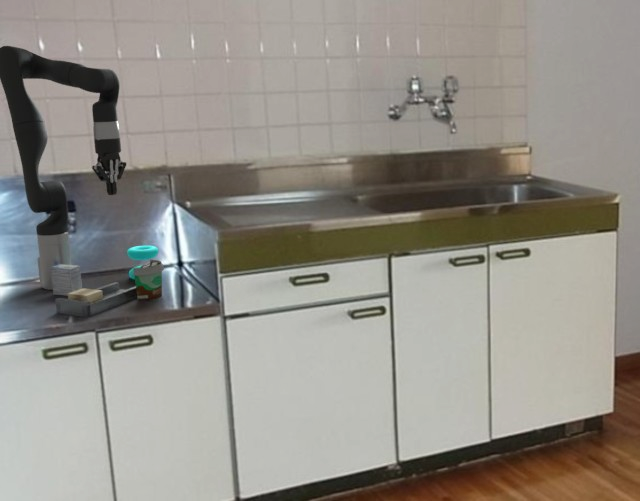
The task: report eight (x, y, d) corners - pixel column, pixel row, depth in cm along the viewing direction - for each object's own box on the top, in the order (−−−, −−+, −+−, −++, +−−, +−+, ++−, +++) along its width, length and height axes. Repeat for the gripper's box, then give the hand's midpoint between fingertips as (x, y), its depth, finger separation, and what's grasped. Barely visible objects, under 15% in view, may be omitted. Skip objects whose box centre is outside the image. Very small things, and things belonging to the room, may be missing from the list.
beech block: (69, 307, 205) (67, 293, 204) (84, 301, 211) (83, 288, 210) (88, 309, 202) (86, 295, 201) (103, 304, 208) (102, 290, 207)
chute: (56, 313, 204) (55, 299, 203) (115, 291, 225) (114, 279, 224) (87, 317, 199) (85, 302, 198) (144, 294, 220) (143, 281, 219)
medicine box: (83, 293, 225) (80, 265, 223) (72, 297, 221) (69, 268, 219) (63, 291, 228) (60, 263, 226) (52, 294, 224) (49, 267, 222)
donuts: (153, 243, 247) (161, 248, 238) (155, 272, 249) (164, 278, 240) (123, 247, 242) (131, 252, 234) (125, 276, 244) (133, 282, 236)
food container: (155, 303, 211) (153, 268, 209) (135, 302, 212) (132, 268, 210) (172, 291, 223) (170, 259, 221) (153, 291, 224) (150, 259, 222)
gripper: (112, 135, 229) (117, 191, 232) (81, 138, 217) (87, 197, 220) (131, 135, 225) (136, 192, 229) (101, 138, 214) (106, 198, 217)
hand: (112, 194), depth 225 cm, fingers closed
